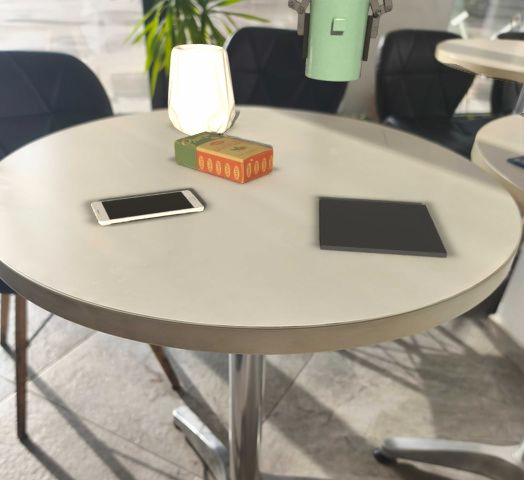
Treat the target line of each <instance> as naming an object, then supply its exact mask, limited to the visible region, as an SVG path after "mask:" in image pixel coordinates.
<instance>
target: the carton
mask: <svg viewBox="0 0 524 480" xmlns="http://www.w3.org/2000/svg"><path fill="white" fill-rule="evenodd" d="M173 149H174V158H175V163H176V164H177V165H181V166H183V167H186V168H187V167H188V168H191V169H194V170H196V171H200V172H204V173H207V174H210V175H212V176H217V177H220V178H223V179H226V180H229V181H232V182H237V183H238V184H239V183H240V184H245V183H247V182H250V181H253V180H255V179H258V178H261V177H263V176H266V175H269V174H270V173H272V172H273V170H274V169H273V168H274V148H272V147H269V146H265V145H262V144H257V143H253V142H249V141H245V140H241V139H237V138H233V137H230V136H226V135H222V134H218V135H217V134H213V133H210V132H207V131H204V132H201V133H198V134H195V135H187V136H185V137H182V138H179V139H176V140H174V142H173Z"/></svg>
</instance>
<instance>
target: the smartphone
mask: <svg viewBox="0 0 524 480" xmlns="http://www.w3.org/2000/svg"><path fill="white" fill-rule="evenodd" d="M90 207H91V209H92V210H93V213H94V215H95V218H96V220H97V222H98V224H99V225H100V226H110V225H116V224H123V223H129V222H130V223H131V222H137V221H145V220H151V219H159V218H165V217H173V216H179V215H185V214H193V213H199V212H203V211H204V210H205V206H204V205H203V203H201V202H200V200H199V199H198V198H197V197H196V196H195V195H194V193H193V192H192V191H191V190H189V189H188V190H178V191H177V190H176V191H170V192H162V193H154V194H146V195H139V196H131V197H124V198H115V199H107V200H99V201H93V202H91V203H90Z"/></svg>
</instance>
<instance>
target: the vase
mask: <svg viewBox="0 0 524 480" xmlns="http://www.w3.org/2000/svg"><path fill="white" fill-rule="evenodd" d="M169 60H170V63H169V75H168V76H169V77H168V91H167V92H168V93H167V94H168V96H167V114H168V118H169V119H170V121H171V125H173V127H174V128H175V129H176V130H177V131H178V132H181V133H183V134H184V135H187V136H191V135H195V134H198V133H201V132H204V131H207V132H210V133H213V134H217V135H222V134H224V133H225V132H226V131H227V130H228V129H230V127H231V126H232V124H233V122H234V119H235V117H236V101H235V95H234V88H233V81H232V80H233V79H232V74H231V68H230V67H231V66H230V60H229V55H228V51H227V50H226V48H225V47H222V46H220V45H214V44H205V43H197V44H196V43H195V44H193V43H190V44H180V45H175V46H174V47H173V48H172V49H171V52H170V59H169Z"/></svg>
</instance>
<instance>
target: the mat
mask: <svg viewBox="0 0 524 480" xmlns="http://www.w3.org/2000/svg"><path fill="white" fill-rule="evenodd" d="M319 232H320V233H319V235H320V236H319V238H320V239H319V241H320V245H319V246H320V250H325V251H326V250H327V251H341V252H356V253H369V254H385V255H398V256H399V255H401V256H415V257H428V258H429V257H431V258H444V259H445V258H447V257H448V252H447V249H446V247H445V245H444V243H443V240H442V238H441V236H440V234H439V231H438V229H437V227H436V225H435V223H434V220H433V218H432V216H431V214H430V211H429V209H428V207H427V205H426V204H418V203H417V204H416V203H402V202H401V203H400V202H399V203H398V202H385V201H370V200H369V201H368V200H354V199H353V200H352V199H338V198H337V199H336V198H335V199H334V198H319Z"/></svg>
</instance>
